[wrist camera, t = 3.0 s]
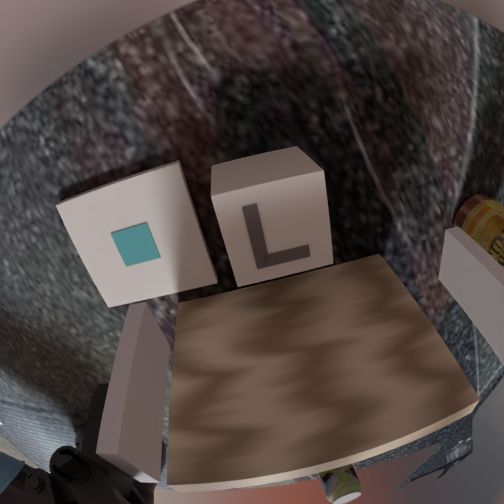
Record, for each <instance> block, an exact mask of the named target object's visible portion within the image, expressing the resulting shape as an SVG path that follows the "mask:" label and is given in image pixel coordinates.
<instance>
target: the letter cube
mask: <svg viewBox="0 0 504 504" xmlns="http://www.w3.org/2000/svg"><path fill="white" fill-rule="evenodd" d="M211 199H212V202H213V206H214V209H215V213H216V216H217V219H218V223H219V226H220V230H221V233H222V236H223V240H224V243H225V246H226V250H227V253H228V256H229V260H230V263H231V266H232V270H233V273H234V276H235V279H236V283H237V286H238V287H240V286H244V285H249V284H253V283H257V282H261V281H265V280H270V279H274V278H278V277H282V276H286V275H290V274H294V273H298V272H302V271H306V270H310V269H314V268H318V267H322V266H326V265H330V264H333V252H332V240H331V229H330V219H329V210H328V201H327V192H326V184H325V176H324V170H323V169H322V168H321V167H319V166H318V165H317V164H316V163H315V162H314V161H313V160H312V159H311V158H310V157H308V156H307V155H306V154H305V153H304V152H303V151H302V150H301V149H299V148H298V147H297V146H295V147H290V148H285V149H280V150H275V151H271V152H266V153H262V154H257V155H253V156H248V157H244V158H240V159H236V160H232V161H228V162H224V163H220V164H216V165H212V170H211Z"/></svg>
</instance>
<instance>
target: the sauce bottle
mask: <svg viewBox="0 0 504 504" xmlns="http://www.w3.org/2000/svg"><path fill="white" fill-rule="evenodd" d="M457 226H458V227H459V228H461V229H462V230H463V231H464V232H465V233H466V234H467V235H469V236H470V237H471V238H472V239H473V240H474V241H475V242H476V243H478V244H479V245H480V246H481V247H482V248H483V249H484V250H485V251H486V252H487V253H488V254H490V255H491V256H492V257H493V258H494V259H495V260H496V261H497V262H498V263H499V264H500V265H501V266H502V267H503V268H504V207H503V206H502V205H500V204H499V203H498V202H496V201H494V200H491V199H490V198H488V197H487V196H485V195H483V194H477V195H473V196H471V197H470V198H469V199H467V200H466V201H465V202H464V203H463V204H462V206H461V207H460V209H459V210H458V211H457V214H456V216H455V220H454V223H453V228H454V227H457Z"/></svg>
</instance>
